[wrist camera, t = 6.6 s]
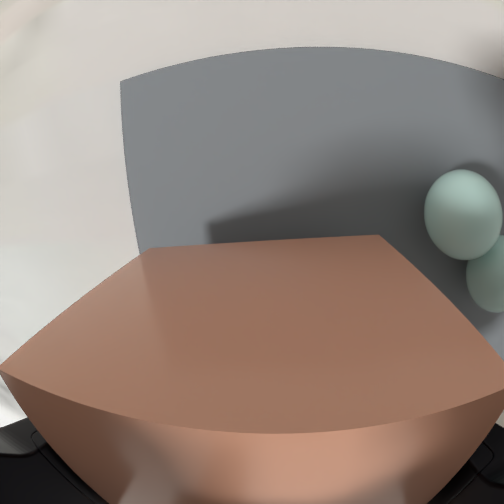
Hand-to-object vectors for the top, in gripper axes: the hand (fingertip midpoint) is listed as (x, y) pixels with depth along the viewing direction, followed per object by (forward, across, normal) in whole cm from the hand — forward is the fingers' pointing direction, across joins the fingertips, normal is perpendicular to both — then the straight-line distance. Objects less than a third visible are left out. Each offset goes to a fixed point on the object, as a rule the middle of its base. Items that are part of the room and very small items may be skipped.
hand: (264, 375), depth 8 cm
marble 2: (+3, -9, -2) cm, 10 cm away
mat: (+4, -6, +2) cm, 7 cm away
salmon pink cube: (+2, 0, 0) cm, 2 cm away
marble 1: (+3, -7, -4) cm, 9 cm away
